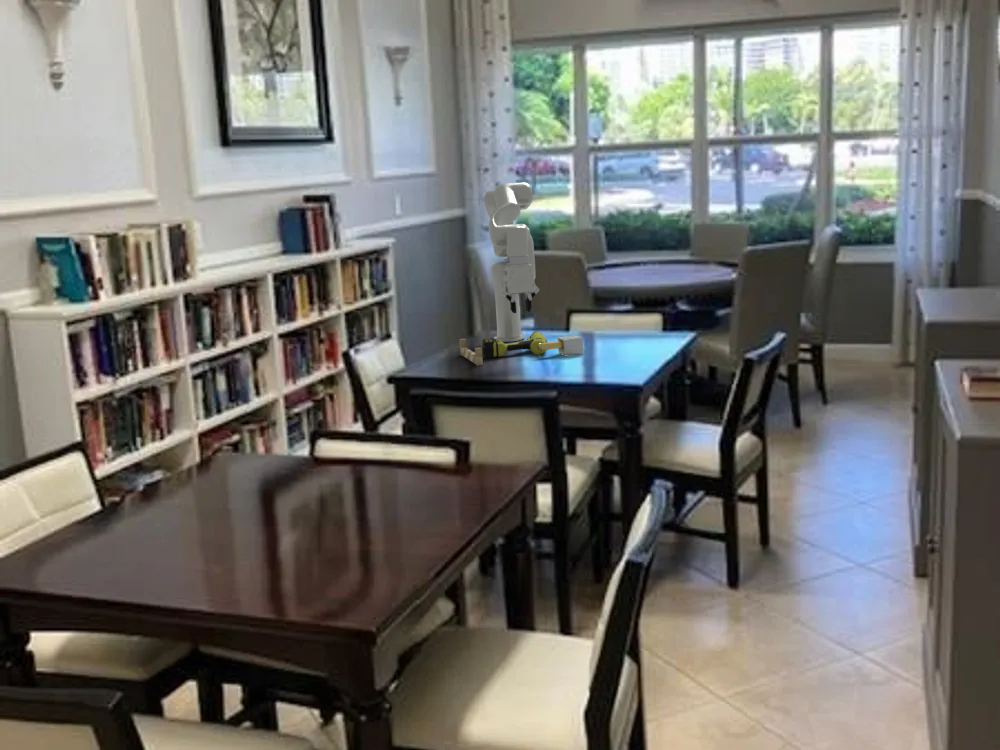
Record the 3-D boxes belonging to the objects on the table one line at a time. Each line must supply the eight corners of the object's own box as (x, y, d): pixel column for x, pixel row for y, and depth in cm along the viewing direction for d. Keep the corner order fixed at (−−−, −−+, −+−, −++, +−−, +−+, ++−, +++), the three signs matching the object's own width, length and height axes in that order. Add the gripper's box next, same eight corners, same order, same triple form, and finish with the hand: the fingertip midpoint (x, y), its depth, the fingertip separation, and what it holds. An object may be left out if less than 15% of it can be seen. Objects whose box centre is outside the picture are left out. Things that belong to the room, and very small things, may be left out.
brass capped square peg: (537, 350, 381) (536, 342, 380) (562, 347, 383) (562, 339, 383) (539, 351, 378) (539, 343, 377) (565, 348, 380) (564, 341, 380)
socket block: (558, 353, 385) (557, 337, 384) (576, 351, 387) (575, 335, 386) (565, 356, 379) (564, 339, 378) (583, 354, 381) (582, 337, 379)
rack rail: (460, 355, 394) (459, 339, 393) (465, 354, 395) (464, 338, 393) (477, 365, 372) (476, 348, 370) (482, 364, 372) (481, 348, 371)
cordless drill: (481, 347, 407) (545, 343, 407) (481, 361, 383) (550, 357, 383) (480, 329, 405) (544, 325, 406) (480, 342, 381) (549, 338, 381)
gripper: (498, 263, 365) (501, 315, 369) (544, 259, 370) (547, 310, 373) (492, 262, 372) (495, 313, 376) (537, 258, 377) (540, 308, 381)
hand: (521, 311), depth 375 cm, fingers open, 4 cm apart
